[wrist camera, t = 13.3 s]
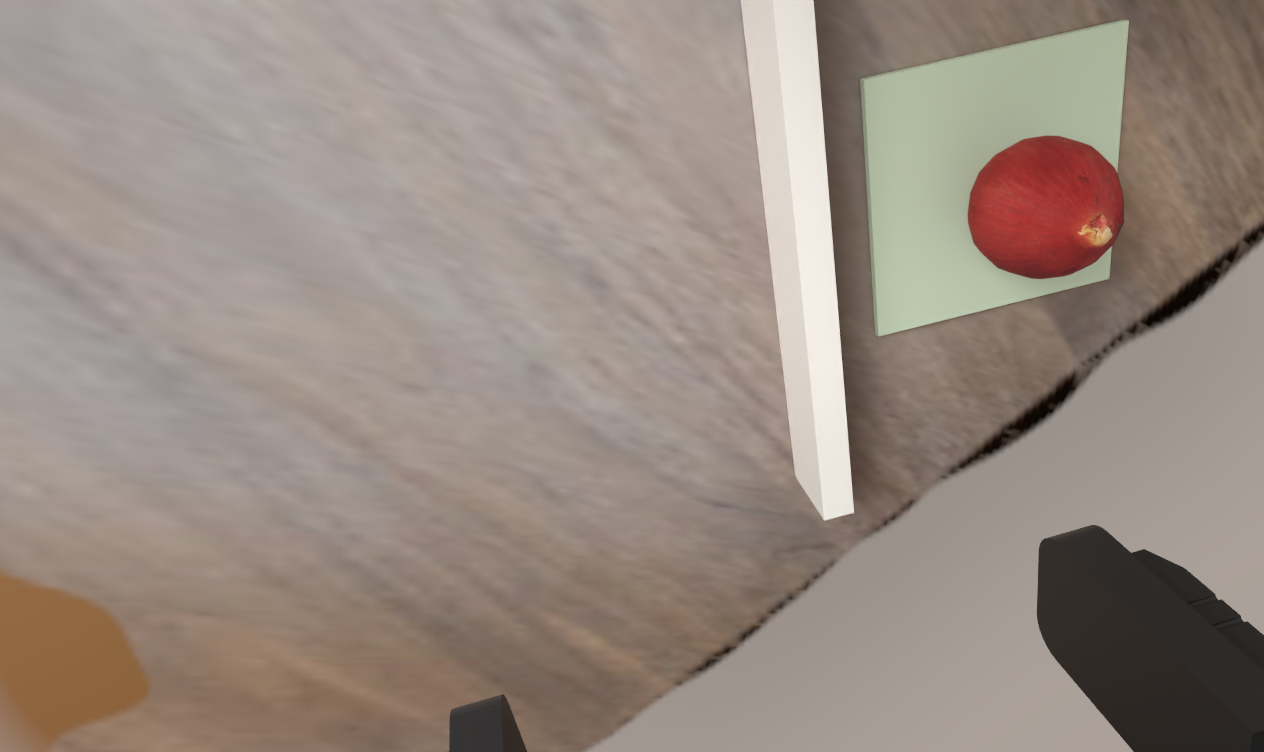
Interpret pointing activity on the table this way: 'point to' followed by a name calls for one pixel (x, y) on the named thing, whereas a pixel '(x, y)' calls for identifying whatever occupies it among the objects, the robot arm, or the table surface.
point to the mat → (974, 163)
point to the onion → (1046, 207)
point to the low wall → (800, 242)
